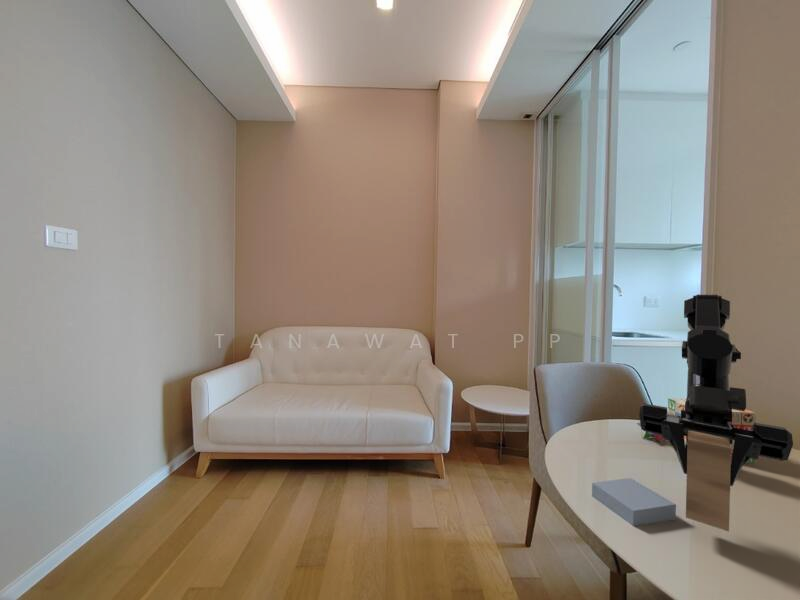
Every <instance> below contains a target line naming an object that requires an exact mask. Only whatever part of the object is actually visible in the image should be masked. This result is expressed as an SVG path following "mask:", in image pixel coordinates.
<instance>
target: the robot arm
mask: <svg viewBox="0 0 800 600" xmlns="http://www.w3.org/2000/svg"><path fill="white" fill-rule="evenodd" d="M722 297H723V296H722V295H719V294H696V295H693V296H692V297H691V298H687V299H685V300H684V303H683V305H684V306H683V318H684V319H687V327H688V329H690V330H688V331H687V337H686V339H687V340H682V345H681V359H686V364H687V368H688V369H687V384H686V398H685V399H686V402H685V410H681V417H680V416H679V415H675V414H669V413H668V406H667V407H666V406H660V405H655V404H650V403H643V404H642V405H640V407H639V415H638V416H639V417H638V418H639V423H640V424H641V427H640V429H641V431H643V432H645V433H646V432H650V433H655V434H660V435H662V438H663V440H664V439H665V440H664V441H669V444H671V446H672V448H673V450H674V452H675V453H676V457H677V459H678V461H679V464H680V467H681V470H682V472H683V474H685V475H687V442H688V430H690V431H695V432H700V433H705V434H710V435H715V436H720V437H725V438H729V441H730V444H732V441H733V440H735V442H734V448H733V454H732V460H731V471H730V487H733V486H734V484H735V482H736V481H737V478H738V476H739V474H740V473H741V470H742V468H743V467H744V466H745V465H746V464H747V463H746V462H747V461H748V459H750V458H751V459H754V460H758V459H759V457H763V458H767V459H772V460H776V461H777V460H778V461H788V460H789V458H790V456H791V455H790V454H791V452H792V449H793V446H794V441H793V434H792V433H791V432H790V431H789V430H788V429H787V428H786V427H784V426H783V427H782V426H776V425H771V424H766V423H759V422H756V423H754V425H753V430H752V431H750V430H744V429H739V428H734V425H733V424H732V423H731V422H732V409H734V410H740V411H745V409H747V394H746V393H747V391H746V389H745V388H740V387H739V388H738V387H731V386H730V383H729V382H730V381H729V374H730V372H731V367H732V366H731V365H732V364H736V363H737V360H741V359H742V353H741V351H739V349H737V348H736V345H735V344H732V343H731V340H730V339H731V338H730V333H728V332H726V331H724V329H725V327H726V326H725V325H726V320H727V321H728V320H730V317H731V301H730V300H728V299H725V298H722ZM684 436H686V439H685V438H684Z"/></svg>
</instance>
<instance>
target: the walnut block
mask: <svg viewBox="0 0 800 600" xmlns="http://www.w3.org/2000/svg"><path fill="white" fill-rule="evenodd" d="M730 471H731V446H730V441H729V438H725V437H720V436H715V435H710V434H705V433H700V432H695V431H690V430H688V442H687V474H686V487H685V488H686V490H685V491H686V494H685V496H686V497H685V501H686V502H685V518H686V519H689V520H692V521H696V522H698V523H700V524H701V523H702V524H704V525H707V526H711V527H714V528H717V529H720V530H723V531H726V532H730V514H731V513H730V511H731V510H730V507H731V504H730V503H731V502H730V501H731V486H730Z"/></svg>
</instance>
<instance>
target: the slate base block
mask: <svg viewBox="0 0 800 600" xmlns="http://www.w3.org/2000/svg"><path fill="white" fill-rule="evenodd" d="M591 497H592V498H593V499H595V500H596V501H598V502H599V503H601V504H602V505H603V506H605V507H606V508H608V509H609V510H610V511H611V512H613V513H615V514H616V515H617V516H619V517H620V518H621V519H623V520H624V521H625V522H627V523H628V524H629V525H631V526H632V527H636V526H641V525H647V524H648V525H650V524H654V523H659V522H660V523H661V522H667V521H673V520H676V513H677V512H676V511H677V504H676V503H674V502H673V501H671V500H669V499H668V498H666V497H664V496H663V495H661V494H659V493H658V492H655V491H653V490H652V489H650V488H649V487H647V486H645V485H643V484H642V483H640V482H639V481H636V479H633V478H631V477H628V478H621V479H620V478H619V479H612V480H604V481H595V482H592V483H591Z"/></svg>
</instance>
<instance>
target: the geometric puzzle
mask: <svg viewBox="0 0 800 600" xmlns="http://www.w3.org/2000/svg"><path fill="white" fill-rule="evenodd" d="M636 424H637V426H638V427H640V428H641V424H640V422H636ZM641 436H642V439H651V438H650V437H655V438H654V439H655V440H656V441H657V442H659V444H663V442H664V441H666V440H665V439H663V438H662V435H660V434H655V433H650V432H646V431H645V433H644V435H643V433H641Z"/></svg>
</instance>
